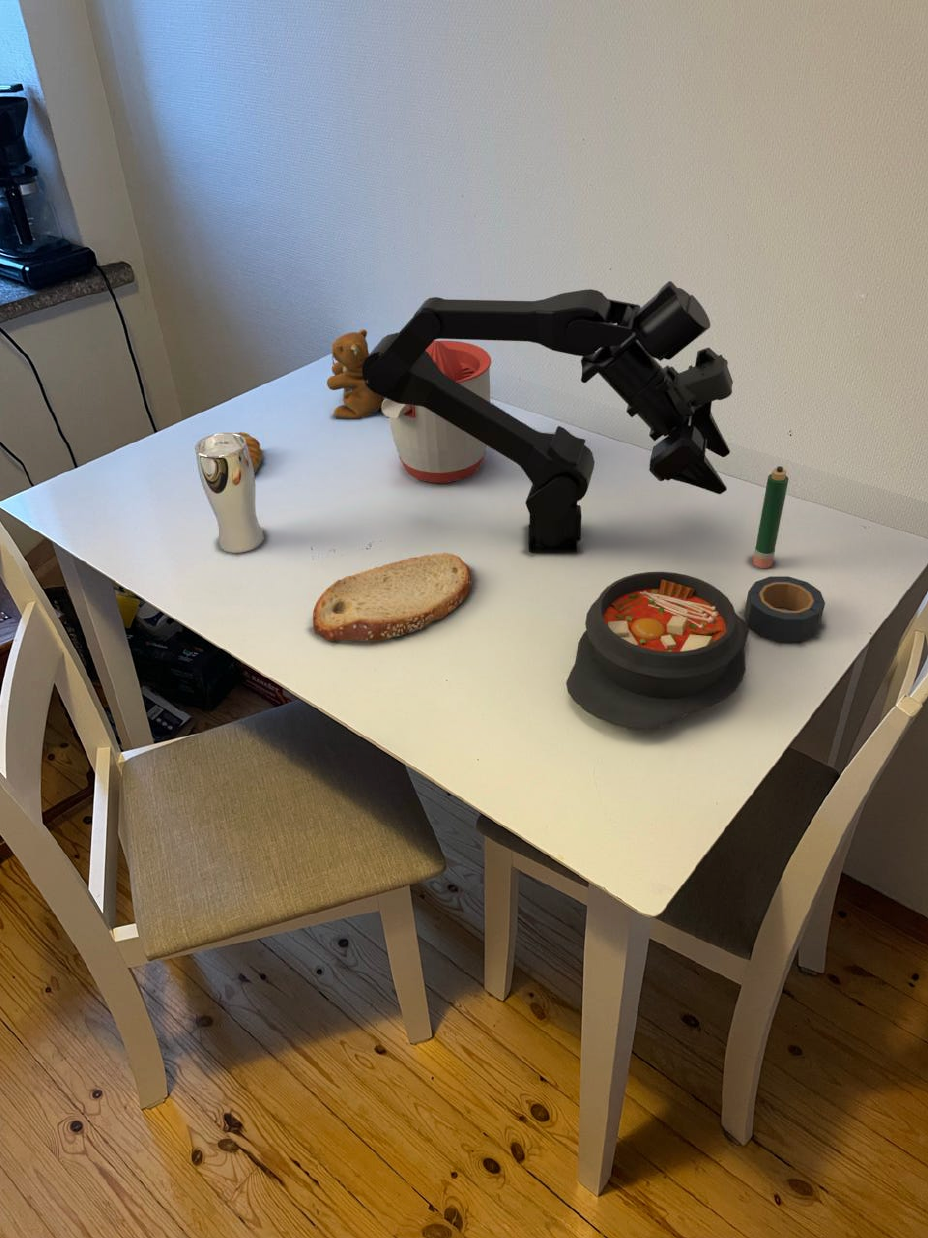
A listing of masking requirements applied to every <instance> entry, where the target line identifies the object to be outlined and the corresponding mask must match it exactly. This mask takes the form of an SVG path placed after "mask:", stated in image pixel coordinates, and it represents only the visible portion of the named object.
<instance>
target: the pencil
mask: <svg viewBox="0 0 928 1238" xmlns="http://www.w3.org/2000/svg"><path fill="white" fill-rule="evenodd" d="M788 484H789V476H788V475H787V470H786V469H784V467H783V466H780V465H779V466H777V467H776V468H773V470H772V472H771V473H770V474H769V475H768V476H767V481H766V486H765V492H764V498H763V503H762V507H761V514H760V519H759V526H758V530H757V537H756V542H755V546H754V550H753V551H754V552H753V553H754V554H753V559H752V564H753V565H754V566H755V567H757V568H761V569H768V568H770V567H772V565H773V562H774V561H773V560H774V557H775V553H776V547H777V541H778V536H779V530H780V525H781V520H782V515H783V509H784V505H785V499H786V494H787V489H788Z"/></svg>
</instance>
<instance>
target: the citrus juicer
mask: <svg viewBox="0 0 928 1238" xmlns="http://www.w3.org/2000/svg"><path fill="white" fill-rule="evenodd" d="M425 351H426V352H428V353H429V355H430V356H431V357H432V359H433V360H434V362H435V363H436V365H437V366H438V367H439V369H440V370H441V372H442V373H443V374H445V375H446V376H448V377H449V378H451V379H452V380H454V381H456V382H457V383H459V384H461V385H462V386H464V387H465V388H467V389H469V390H470V391H472V392H474V393H475V394H477V395H479V396H480V397H482V398H483V399H485V400H487V401H488V402H490V403H491V372H490V371H491V370H490V369H491V364H492V357H491V355H490V353H489V352H487V351H486V350H485V349H484V348H482V347H480V346H478V345H474V344H472V343H469V342H464V341H457V340H434V341H433V343H432V344H431V345H430V346H429V347H428V348H427V349H426V350H425ZM381 413H382V414H383V415H384V417H386V418H388V419H389V425H390V432H391V435H392V439H393V442H394V446H395V449H396V450H397V452H398V456H399V460H400V462H401V463H402V465H403V468H405V470H406V472H407V473H408V474H409V475H410V476H412V477H413V478H415V479H417V480H420V481H423V482H428V483H436V484H441V485H442V484H447V483H451V482H457V481H460V480H464V479H466V478H469V477H470V476H472V475H474V474H475V473H476V472H477V471H478V470H479V469H480V467H481V465H482V463H483V460H484V458H485V455H486V451H487V450H486V449H487V447H488V446H487V445H486V444H484V443H482V442H481V441H479V440H477V439H476V438H474V437H472V436H471V435H469V434H467V433H466V432H464V431H463V430H461V429H459V428H458V427H456V426H454V425H453V424H451V423H449V422H448V421H446V420H444V419H443V418H441V417H439V416H438V415H436V414H435V413H433V412H431V411H430V410H428V409H426V408H424V407H421V406H414V405H406V404H399V403H396V402H394V401H391V400H389V399H385V400H384V401H383V403H382V411H381Z"/></svg>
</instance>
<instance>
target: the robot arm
mask: <svg viewBox="0 0 928 1238" xmlns="http://www.w3.org/2000/svg"><path fill="white" fill-rule="evenodd" d="M710 328H711V321H710V317H709V316H708V314H707V312H706V310H705V309H704V307H703V306H702V304H701V302H699V300H698V299H697V298H696V297H695V296H694V295H693V294H689V293H688V292H687V291H686V290H684V289H683V288H681V287H677V286H676V284H675V283H674V282H673V281H668V282H666V283H665V284H664V285H663V286H661V288H660V289H659V290H658V291H657V293H656V294H655V295H654V296H652V298H650V299H649V300H648V301H647V302H646V303H645V304H643V305H642V306H641V305H640V304H637V303H630V302H626V301H620V300H615V299H609V298H607V296H606V295H604V293H603V292H601V291H599V290H598V289H597V290H596V289H591V288H590V289H580V290H574V291H569V292H563V293H559V294H556V295H553V296H550V297H547V298H544V299H539V300H497V299H496V300H495V299H492V300H491V299H446V298H442V297H438V296H434V297H429V298H427V299H426V300H424V302H423V303H422V304H421V305H420V307H419V308H418V309H417V310H416V311H415V313H414V314H413V316H412V318H411V319H409V320H408V322H406V324H405V325H404V326H403V327H402V329H400V330H399V332H395V333H391V334H387V335H385V336H384V337H382V338H381V339H380V341H379V342H378V343H377V344H376V346H375V347H374V348H373V349H372V350H371V351H370V352H369V355H368V357H367V358H366V359H365V361H364V362H363V366H362V375H363V378H364V381H365V385H366V386H367V387H368V389H369V390H371V391H372V392H373V393H375V394H377V395H379V396H382V397H384V398H386V399H389V400H391V401H394V402H396V403H399V404H406V405H414V406H421V407H424V408H426V409H428V410H430V411H431V412H433V413H435V414H436V415H438V416H439V417H441V418H443V419H444V420H446V421H448V422H449V423H451V424H453V425H454V426H456V427H458V428H459V429H461V430H463V431H464V432H466V433H467V434H469V435H471V436H472V437H474V438H476V439H477V440H479V441H481V442H482V443H484V444H486V445H487V446H486V447H489V448H491V449H492V450H494V451H496V453H499V454H500V455H501V456H504V457H505V458H507V459H508V460H510V461H512V462H513V463H515V464H517V465H518V466H519V468H521V469H522V471H523V473H524V474H525V475H526V477H527V478H528V480H529V481H530V483H531V487H530V489H529V493H528V494H527V497H526V499H525V502H524V504H525V506H526V509H527V511H528V513H529V514H528V517H529V518H528V519H529V520H528V521H529V524H528V532H527V533H528V534H527V535H528V536H527V537H528V539H527V540H528V543H527V546H528V549H527V550H528V552H529V553H577V552H578V542H580V540H581V539H582V506H581V505H580V504H578V502H579V501H581V500H582V499H583V498H584V497H585V495H586V494H587V492H588V490H589V486H590V482H591V480H592V476H593V472H594V469H595V462H596V461H595V458H594V455H593V454H594V453H593V451H592V450H591V449H590V448H589V447H588V446H587V445H585V444H586V439H584V438H579V437H577V436H575V435H573V434H571V432H570V431H568V430H567V429H566V428H564V427H562V426H560V425H558V426H557V427H556V429H555V431H554V433H550V432H549V433H548V432H541V431H538V430H536V429H534V428H532V427H531V426H529V425H527V424H526V423H524V422H522V421H521V420H520V419H517V417H514V416H513V415H511V414H510V413H508V412H506V411H505V410H503V409H502V408H500V407H498V406H496V405H495V404H493V403H491V401H490V402H488V401H487V400H485V399H483V398H482V397H480V396H479V395H477V394H475V393H474V392H472V391H470V390H469V389H467V388H465V387H464V386H462V385H461V384H459V383H457V382H456V381H454V380H452V379H451V378H449V377H448V376H446V375H445V374H443V373H442V372H441V370H440V369H439V367H438V366H437V365H436V363H435V362H434V360H433V359H432V357H431V356H430V355H429V353H428V352H426V351H425V350H426V349H427V348H428V347H429V346H430V345H431V344H432V343H433V341H437V340H466V341H468V340H470V341H496V342H497V341H501V342H528V343H533V344H538V345H540V346H542V347H544V348H546V349H549V350H551V351H553V352H558V353H562V354H567V355H573V356H576V357H581V359H580V364H581V377H580V382H581V383H583V384H586V383H588V382H589V381H590V380H592V379H593V378H594V377H595V376H596V375H599V376H600V377H601V378H602V379H603V380H604V381H605V382H606V384H608V385H609V387H611V388H612V390H614V392H615V393H616V394H617V395H618V396H619V397H620V398H621V399H622V400H623V401H624V402H625V403H626V404H627V408H626V414H628V415H629V417H631V418H633V417H634V416H636V415H637V416H638V417H639V418H640V420H641V421H643V422H644V423H645V425H646V426H647V427H649V429H650V430H649V435H648V436H649V438H651V439H652V441H653V442H656V441H658V440H659V439H660V438H662V437H664V438H663V439H662V440H660V441H658V443H657V444H655V445H654V446H652V451H651V455H650V459H649V469H648V471H649V472H650V473H651V474H652V476H654V478H656V480H657V481H659V482H664V481H668V482H669V481H670V480H672V481H676V482H680V483H684V484H687V485H691V486H693V487H697V488H700V489H703V490H705V491H709V492H711V493H714V494H717V495H722V494H723V493H725V492H726V491H727V489H728V487H727V486H726V484H725V483H724V481H723V479H722V478H721V477H720V475H719V474H718V472H717V471H716V469H715V468H714V466H713V465H712V463H711V462H710V460H709V459H708V457H707V456H706V452H707V451H706V450H709V451H710V452H711V453H714V454H716V455H717V456H719V457H722V458H725V457H727V456H729V455H730V453H731V450H730V448H729V446H728V444H727V441H726V440H725V437H724V436H723V434H722V432H721V430H720V428H719V426H718V423H717V422H716V420H715V418H714V416H713V413H712V405H713V404H712V403H713V402H714V401H722V400H725V399H728V397H729V398H730V396H731V395H732V394H733V384H734V380H733V377H732V375H731V372H730V370H729V367H728V366H729V365H728V363H729V361H728V360H727V359H726V358H725V357H723V355H722V354H717V353H716V352H715V351H714V350H713V349H712V348H710V347H705V348H703V349H699V350H698V351H696V357H695V365H694V366H693V364H691V365H688V369H686V370H684V371H681V372H678V371H677V369H675V368H674V366H669V365H668V364H666V366H664V367H663V366H661V364H660V363H659V362H658V361H660V362H662V361H663V360H664V359H665V360H668V361H669V360H671V359H673V358H674V357H675V356H676V355H678V354H680V352H682V351H683V350H684V349H685V348H687V347H688V346H690V344H692V343H693V342H694V341H695V340H697V339H698V338H699V337H700V336H702V335H703V334H704V333H706V331H708V330H709V329H710ZM657 360H658V361H657Z"/></svg>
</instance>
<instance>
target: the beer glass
mask: <svg viewBox="0 0 928 1238" xmlns="http://www.w3.org/2000/svg"><path fill="white" fill-rule="evenodd" d="M236 433H237V432H219V433H214V434H211V435H207V436H205V437H203V438H201V439H199V441H198V442H197V443H196V444H195V446H194V450H195V455H196V456H195V457H196V462H197V470H198V474H199V479H200V482H201V486H202V489H203V491H204V494H205V497H206V498H207V500H208V503H209V505H210V507H211V509H212V512H213V514H214V516H215V518H216V522H217V526H218V541H219V542H218V543H219V546H220V548H221V549H222V550H223V551H226V552H228V553H232V554H242V553H246V552H250V551H253V550H254V549H257V548H258V547H259V546H261V545H262V543H263V541H264V539H265V536H264V532H263V530H262V527H261V525H260V523H259V520H258V517H257V509H256V477H255V476H256V475H255V473H254V469H253V465H252V460H251V457H250V453H249V450H248V447H247V443H246V439H245V438H244V437H243V436H241V435H239V434H236Z"/></svg>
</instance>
